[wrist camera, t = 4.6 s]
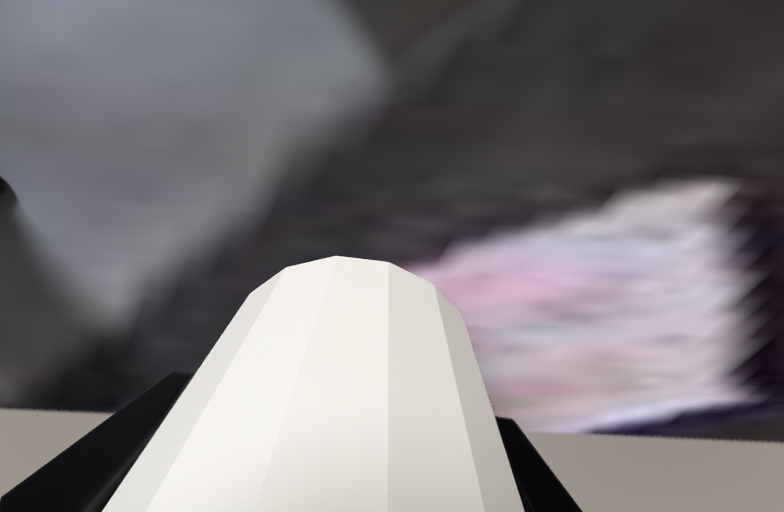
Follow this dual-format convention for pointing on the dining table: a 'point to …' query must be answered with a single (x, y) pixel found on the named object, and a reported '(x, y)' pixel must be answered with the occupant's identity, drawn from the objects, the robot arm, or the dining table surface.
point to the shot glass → (331, 406)
